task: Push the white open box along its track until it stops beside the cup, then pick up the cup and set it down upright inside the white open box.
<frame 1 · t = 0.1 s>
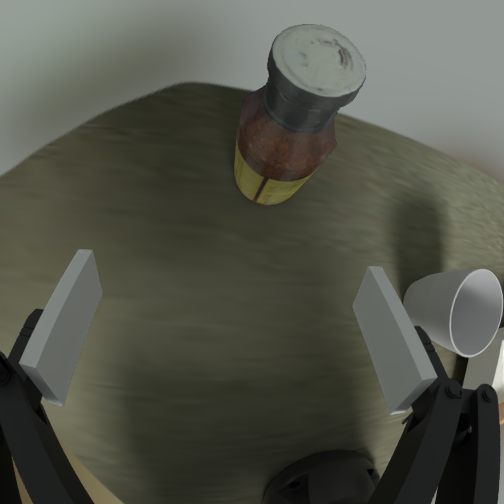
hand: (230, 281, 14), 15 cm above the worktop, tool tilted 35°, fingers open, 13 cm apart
sauce bottle: (263, 176, 30), on the worktop
white open box: (498, 373, 29), point 4 cm above the worktop, slide at 0.0 cm
cup: (418, 300, 32), on the worktop
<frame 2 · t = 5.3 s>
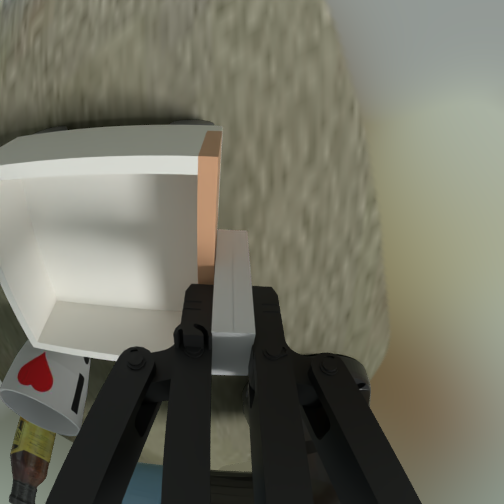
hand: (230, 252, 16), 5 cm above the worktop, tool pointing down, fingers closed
sauce bottle: (46, 398, 37), on the worktop
white open box: (108, 240, 16), point 4 cm above the worktop, slide at 0.9 cm, touching gripper
cup: (68, 329, 27), on the worktop
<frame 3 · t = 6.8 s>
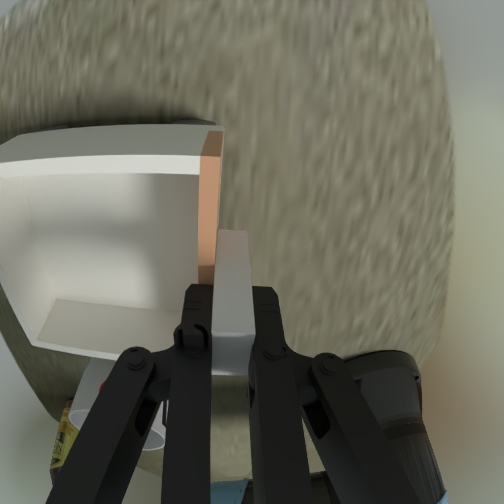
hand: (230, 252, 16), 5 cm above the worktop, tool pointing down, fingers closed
sauce bottle: (85, 406, 37), on the worktop
white open box: (109, 239, 16), point 4 cm above the worktop, slide at 8.7 cm, touching gripper
cup: (136, 337, 28), on the worktop
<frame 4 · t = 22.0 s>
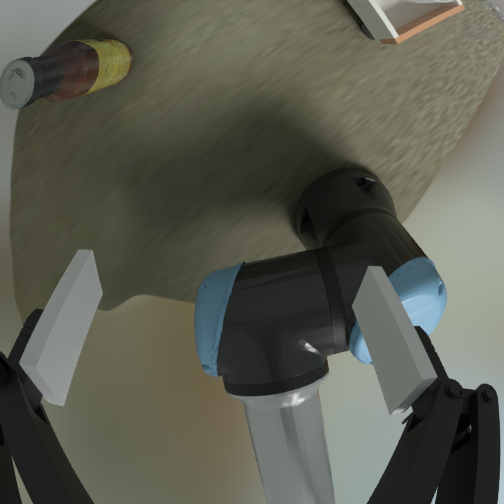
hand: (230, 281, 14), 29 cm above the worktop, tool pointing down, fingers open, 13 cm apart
sauce bottle: (112, 63, 31), on the worktop
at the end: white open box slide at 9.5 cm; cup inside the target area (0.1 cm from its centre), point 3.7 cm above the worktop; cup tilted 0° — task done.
